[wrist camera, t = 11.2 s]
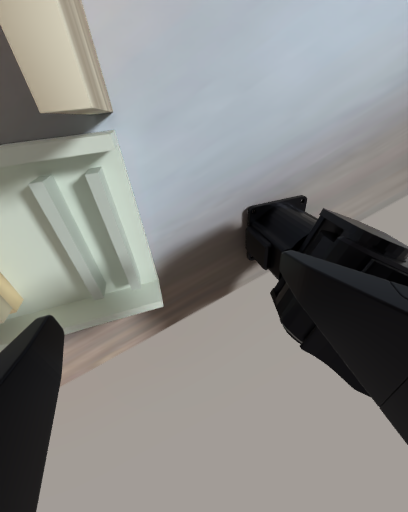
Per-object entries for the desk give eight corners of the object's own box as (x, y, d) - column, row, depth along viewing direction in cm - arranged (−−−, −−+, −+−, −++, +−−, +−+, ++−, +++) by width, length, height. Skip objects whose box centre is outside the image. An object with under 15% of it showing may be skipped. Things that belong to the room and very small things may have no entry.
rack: (114, 129, 15) (110, 133, 12) (158, 279, 23) (163, 306, 20) (-224, 174, 12) (-360, 196, 8) (-34, 330, 20) (-66, 371, 16)
